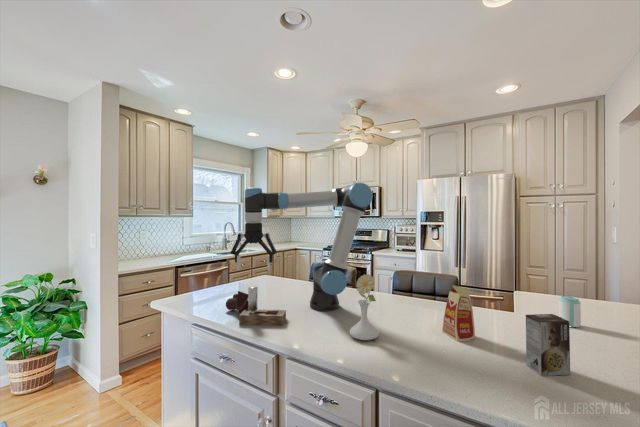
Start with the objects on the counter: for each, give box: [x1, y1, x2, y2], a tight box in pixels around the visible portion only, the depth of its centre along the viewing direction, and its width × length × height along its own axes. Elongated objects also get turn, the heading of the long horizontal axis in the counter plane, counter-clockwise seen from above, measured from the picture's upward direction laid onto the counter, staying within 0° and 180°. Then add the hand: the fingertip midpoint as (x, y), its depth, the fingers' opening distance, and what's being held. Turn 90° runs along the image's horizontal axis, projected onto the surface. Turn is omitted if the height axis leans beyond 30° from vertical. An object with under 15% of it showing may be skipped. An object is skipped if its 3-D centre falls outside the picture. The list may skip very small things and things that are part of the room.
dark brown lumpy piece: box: [225, 290, 248, 314], centre depth 141 cm, size 6×17×10 cm, turn 54°
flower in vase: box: [349, 273, 380, 341], centre depth 113 cm, size 13×11×25 cm
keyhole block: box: [238, 309, 287, 326], centre depth 130 cm, size 19×8×4 cm, turn 87°
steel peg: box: [247, 285, 259, 314], centre depth 130 cm, size 4×4×14 cm
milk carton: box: [441, 284, 476, 342], centre depth 115 cm, size 9×9×20 cm
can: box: [558, 295, 582, 328], centre depth 125 cm, size 7×7×12 cm
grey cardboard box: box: [525, 313, 571, 377], centre depth 89 cm, size 9×6×16 cm
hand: (253, 270), depth 131 cm, fingers open, 13 cm apart
